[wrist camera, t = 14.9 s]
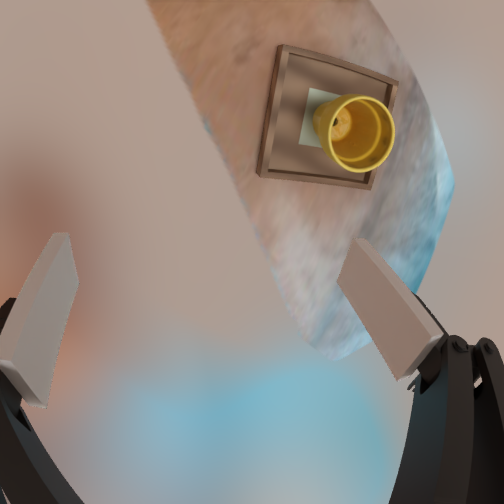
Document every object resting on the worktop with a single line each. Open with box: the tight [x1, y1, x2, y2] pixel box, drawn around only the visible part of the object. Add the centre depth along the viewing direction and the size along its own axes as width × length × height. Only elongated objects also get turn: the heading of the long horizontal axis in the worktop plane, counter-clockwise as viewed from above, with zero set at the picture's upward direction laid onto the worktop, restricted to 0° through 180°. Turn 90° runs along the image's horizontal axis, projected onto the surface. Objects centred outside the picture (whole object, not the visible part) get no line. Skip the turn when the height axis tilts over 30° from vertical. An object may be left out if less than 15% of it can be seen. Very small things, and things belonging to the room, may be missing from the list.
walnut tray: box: [256, 44, 399, 190], centre depth 40 cm, size 20×20×2 cm
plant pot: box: [312, 94, 395, 173], centre depth 37 cm, size 10×10×10 cm
